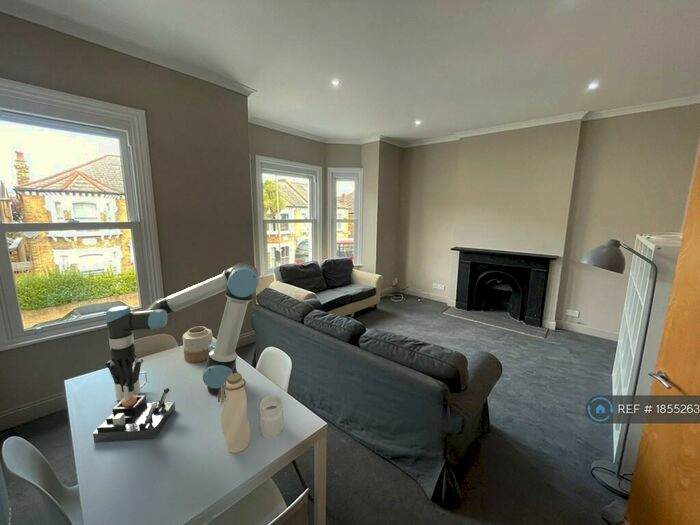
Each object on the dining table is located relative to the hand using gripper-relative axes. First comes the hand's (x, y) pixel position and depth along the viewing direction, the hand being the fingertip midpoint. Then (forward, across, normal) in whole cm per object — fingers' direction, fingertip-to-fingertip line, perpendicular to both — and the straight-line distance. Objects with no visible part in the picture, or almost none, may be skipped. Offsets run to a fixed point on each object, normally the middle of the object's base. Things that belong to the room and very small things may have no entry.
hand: (129, 398), depth 117 cm
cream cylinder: (+9, -59, +11) cm, 61 cm away
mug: (+9, +9, -16) cm, 21 cm away
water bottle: (+9, -47, +18) cm, 51 cm away
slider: (+5, -2, +9) cm, 10 cm away
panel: (+9, -5, +4) cm, 11 cm away
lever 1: (+4, -12, +9) cm, 15 cm away
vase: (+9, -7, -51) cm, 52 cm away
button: (+4, 0, 0) cm, 4 cm away
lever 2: (+4, -12, 0) cm, 12 cm away
